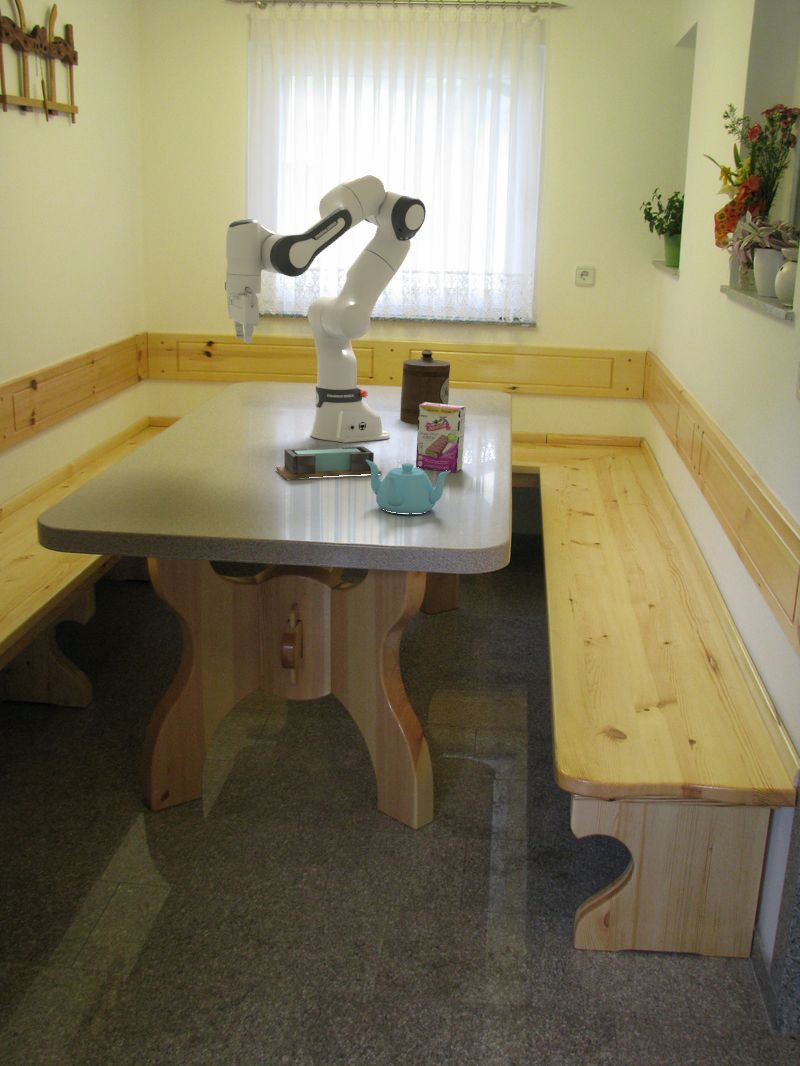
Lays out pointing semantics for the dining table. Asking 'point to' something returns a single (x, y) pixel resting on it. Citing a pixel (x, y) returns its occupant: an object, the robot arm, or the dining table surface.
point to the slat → (330, 458)
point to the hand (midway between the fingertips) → (243, 340)
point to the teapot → (406, 489)
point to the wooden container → (423, 385)
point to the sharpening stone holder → (305, 468)
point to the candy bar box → (440, 436)
